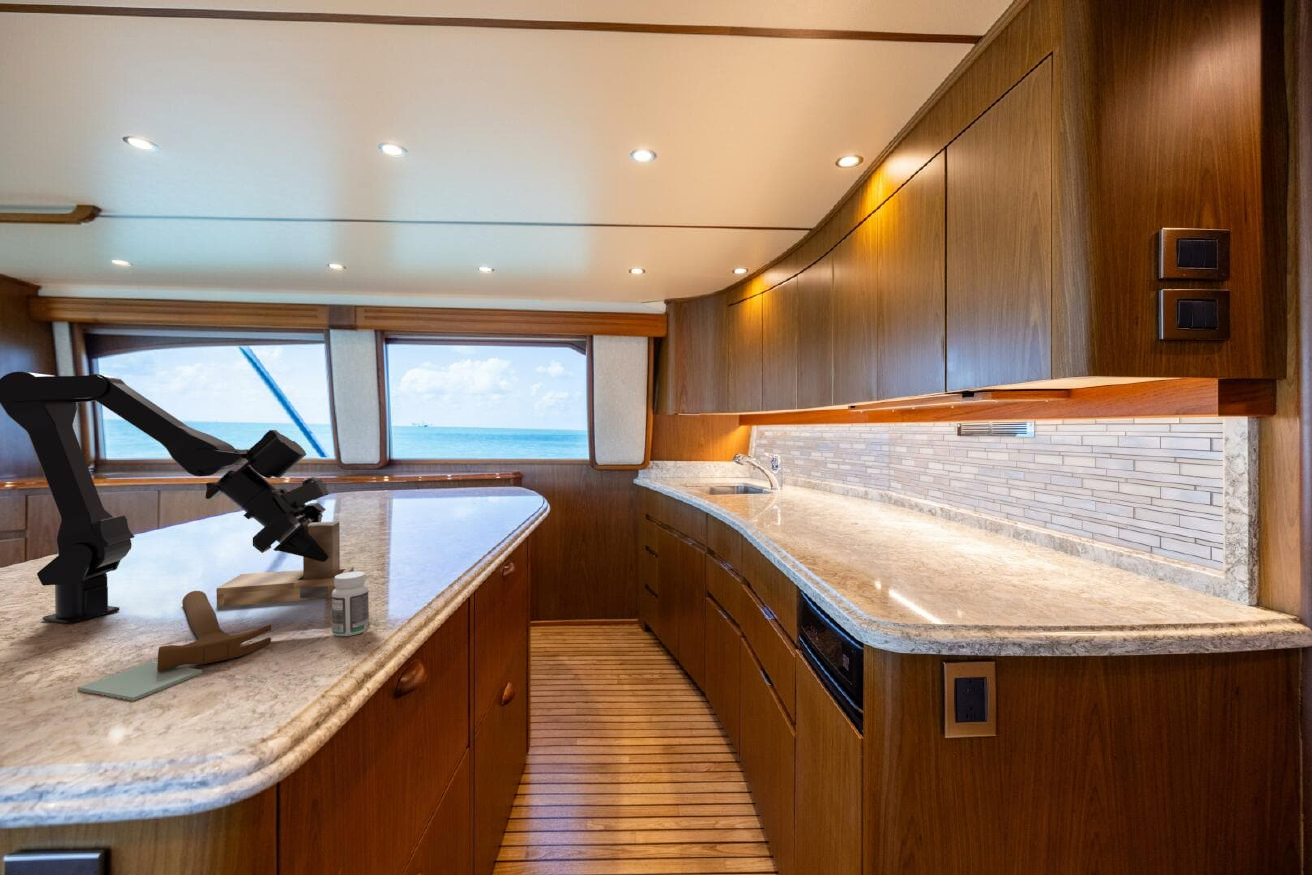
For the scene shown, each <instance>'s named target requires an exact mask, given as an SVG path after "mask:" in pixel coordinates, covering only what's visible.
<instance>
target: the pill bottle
mask: <svg viewBox="0 0 1312 875" xmlns="http://www.w3.org/2000/svg"><path fill="white" fill-rule="evenodd" d="M365 583H366V573H365V572H364V571H354V572H347V573H342V574H339V575H336V576H335V578H334V585H335V587H336V589H334V590H333V592H332V598H331V610H332V611H331V616H332V617H331V618H332V619H331V620H332V624H331V625H332V635H334V636H336V637H350V636H351V637H352V636H356V635H359V634H361V633H364V632H365V631H367V630H368V629H369V626H370V619H369V618H370V616H369V615H370V612H369V609H370V608H369V587H368V586H367V585H366V584H365Z"/></svg>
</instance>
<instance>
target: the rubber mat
mask: <svg viewBox="0 0 1312 875" xmlns="http://www.w3.org/2000/svg"><path fill="white" fill-rule="evenodd" d="M201 674H203V669H197V668H191V667H185V666H177V667H175V668H172V669H169V670H165V671H159V672H158V671H157V662H153V661H148V662H145V663H142V664H139V665H136V666H134V667H131V668H128V669H125V670H122V671H120V672H117V673H114V674H112V675H109V676H105V677H103V678H100V679H98V680H95V681H91V682H88V683H85V684H83V685H80V686H78V687H77V691H78V692H81V693H82V692H83V693H89V694H93V693H96V694H95V695H98V694H101V695H100V696H104V695H106V696H105V697H109V696H110V697H111V698H115V697H119V698H118V699H120V698H123V699H122V700H125V699H127V700H126V701H131V700H132V702H135V701H138V700H139V698H140V699H142V698H145V697H147V696H149V695H151V694H154V693H157V692H159V691H161V690H165V689H166V688H167V689H168V688H169V687H172V686H174V685H176V684H180V683H181V682H184V681H186V680H188V679H189V680H190V679H192V678H194V677H196V676H199V675H201ZM110 697H109V698H110ZM124 698H125V699H124ZM134 700H135V701H134Z"/></svg>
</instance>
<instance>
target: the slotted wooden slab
mask: <svg viewBox="0 0 1312 875" xmlns="http://www.w3.org/2000/svg"><path fill="white" fill-rule="evenodd" d="M354 569H355V567H354V566H345V567H340V574H342V573H347V572H355V570H354ZM334 589H336V587H335V585H334V578H325V579H311V580H303V569H301V570H297V569H296V570H284V571H269V572H255V573H254V572H252V573H240V574H239V575H238V576H236V577H233V579H231V580H229V581H227V582H225V583H224V584H222V585H220V586H219V587H216V607H217V608H221V607H231V606H233V607H234V606H235V607H236V606H246V605H257V604H259V605H260V604H270V603H284V602H295V601H296V602H297V601H307V600H320V599H332V592H333V590H334Z"/></svg>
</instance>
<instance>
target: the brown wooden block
mask: <svg viewBox="0 0 1312 875" xmlns="http://www.w3.org/2000/svg"><path fill="white" fill-rule="evenodd" d="M340 528H341V525H340V521H321V522H314V523H310V524H308V534H309V535H310V536H311V537H312V538H313V539H314V541H315V542H316V543H317V544H318V545H319V546H320V547H321V548H322V549H323V550H324V552H325V553H326V554H327V555H328V557H329V558H328V559H327V560H326V561H325V562H321V561H318V560H314V559H310V558H306V557H302V558H303V560H302V562H303V564H302V565H303V569H302V570H303V580H311V579H325V578H335V576H336V575H339V574H340V568H341V562H340V561H341V557H340V556H341V552H340V551H341V549H340V547H341V546H340V544H341V543H340V541H341V540H340V535H341V533H340Z"/></svg>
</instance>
